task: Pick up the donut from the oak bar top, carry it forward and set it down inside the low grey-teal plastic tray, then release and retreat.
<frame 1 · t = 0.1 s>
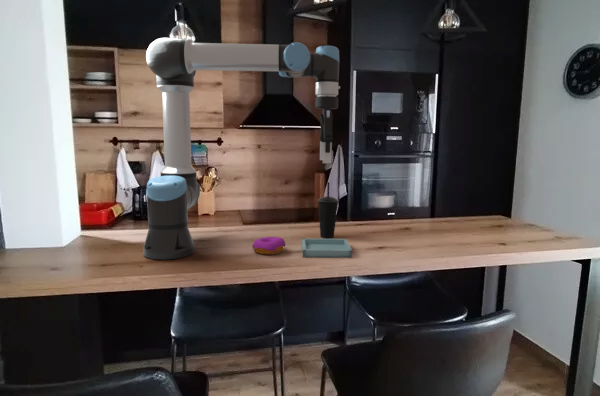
hand: (325, 161, 140), 28 cm above the breakfast bar, fingers open, 13 cm apart
donut: (269, 252, 133), on the breakfast bar
tray: (325, 250, 134), on the breakfast bar
drinking cup: (327, 237, 152), on the breakfast bar
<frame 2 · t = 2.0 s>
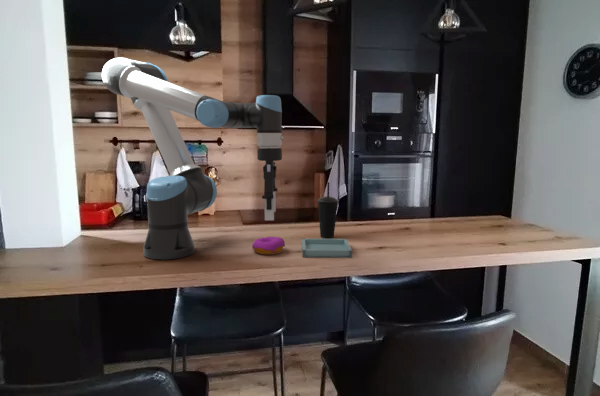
hand: (270, 215, 131), 12 cm above the breakfast bar, fingers open, 13 cm apart
nothing on the breakfast bar moved.
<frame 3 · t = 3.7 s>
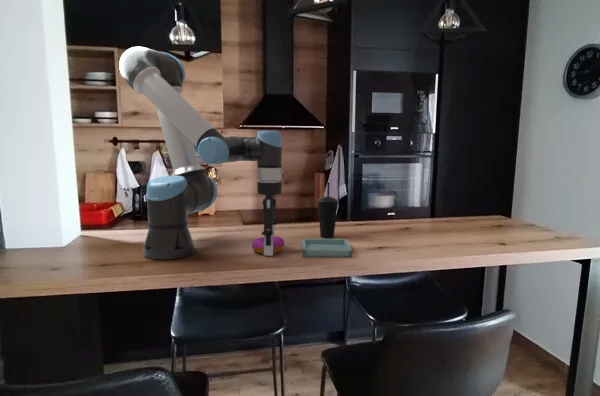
hand: (269, 249, 133), 1 cm above the breakfast bar, fingers closed on donut, 11 cm apart
donut: (268, 252, 133), on the breakfast bar, touching gripper
everything else where it was.
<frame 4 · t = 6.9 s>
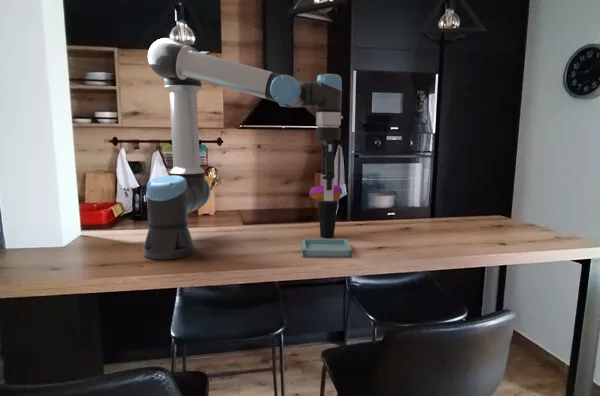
hand: (326, 197, 131), 17 cm above the breakfast bar, fingers closed on donut, 11 cm apart
donut: (326, 200, 132), point 17 cm above the breakfast bar, touching gripper
everything else where it was.
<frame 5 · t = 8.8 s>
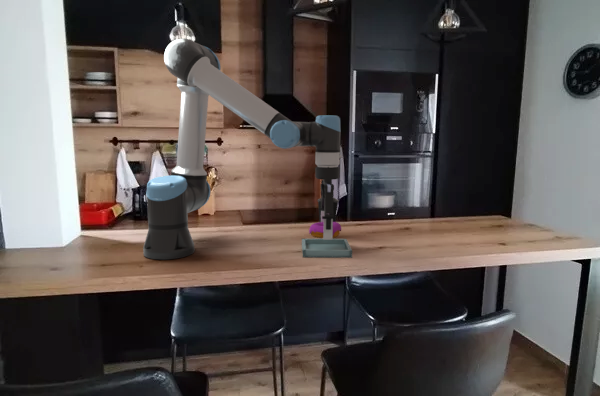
hand: (326, 234, 133), 5 cm above the breakfast bar, fingers closed on donut, 11 cm apart
donut: (325, 237, 134), point 5 cm above the breakfast bar, touching gripper
everything else where it was.
when the fingers open (3 cm above the breakfast bar, at t = 10.4 s): donut drops 2 cm, resting on tray.
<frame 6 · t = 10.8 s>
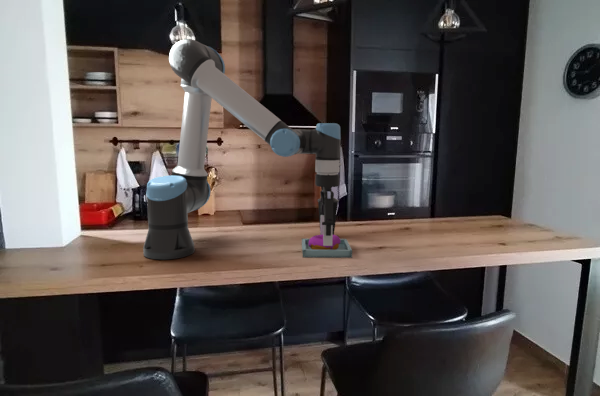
hand: (325, 239, 134), 4 cm above the breakfast bar, fingers open, 13 cm apart
donut: (324, 249, 134), resting on tray
everything else where it was.
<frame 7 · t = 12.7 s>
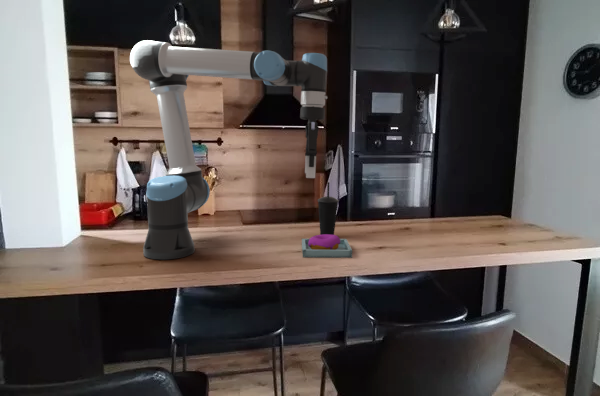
hand: (309, 175, 132), 24 cm above the breakfast bar, fingers open, 13 cm apart
nothing on the breakfast bar moved.
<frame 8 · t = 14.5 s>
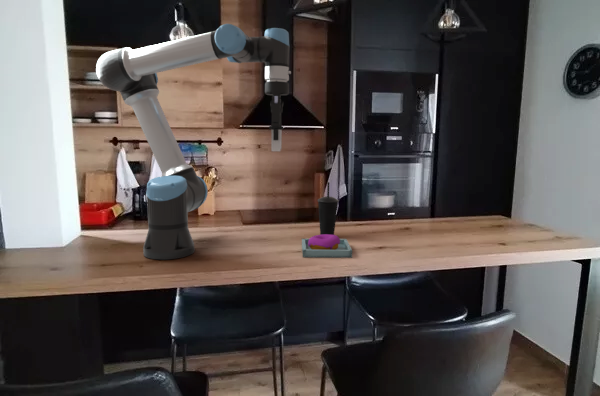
hand: (276, 150, 134), 32 cm above the breakfast bar, fingers open, 13 cm apart
nothing on the breakfast bar moved.
at the end: donut inside the target area on the tray (0.5 cm from its centre), point 0.4 cm above the tray's base; donut tilted 0°; the gripper is holding nothing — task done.
